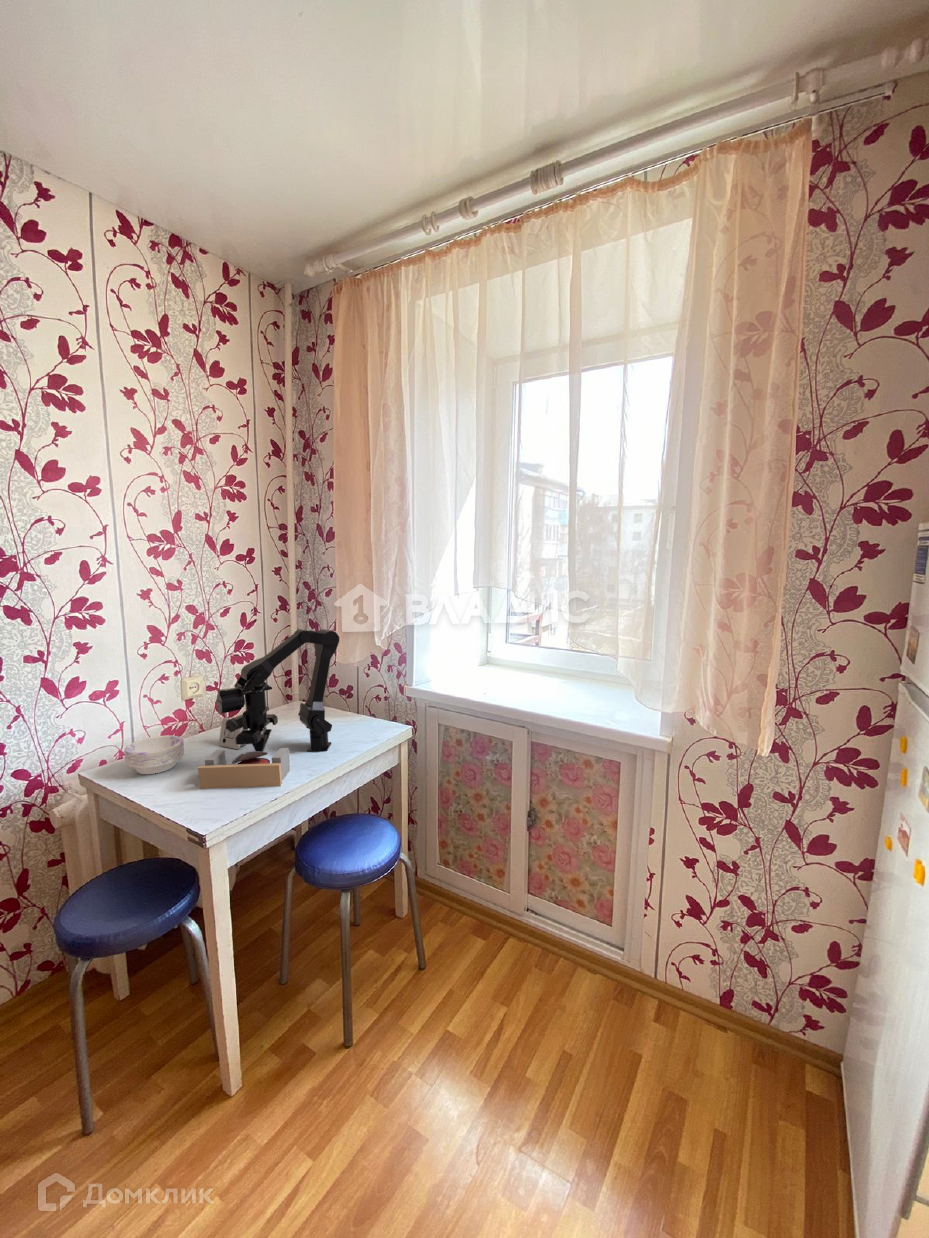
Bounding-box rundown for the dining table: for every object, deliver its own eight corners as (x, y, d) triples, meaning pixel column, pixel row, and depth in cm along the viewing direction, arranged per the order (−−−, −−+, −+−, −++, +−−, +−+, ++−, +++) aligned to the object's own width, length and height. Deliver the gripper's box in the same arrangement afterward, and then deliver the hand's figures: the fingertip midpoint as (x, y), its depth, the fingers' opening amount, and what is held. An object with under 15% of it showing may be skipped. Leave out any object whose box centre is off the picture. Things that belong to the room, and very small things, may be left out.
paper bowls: (197, 761, 154) (194, 737, 153) (151, 782, 140) (149, 755, 139) (161, 755, 160) (159, 731, 158) (114, 775, 145) (111, 749, 144)
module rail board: (216, 772, 146) (214, 750, 145) (291, 770, 146) (290, 747, 145) (199, 788, 136) (197, 764, 135) (280, 785, 136) (278, 761, 136)
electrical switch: (218, 746, 167) (218, 718, 166) (231, 742, 171) (231, 715, 171) (237, 750, 163) (237, 722, 162) (250, 746, 167) (250, 719, 167)
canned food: (236, 795, 141) (216, 767, 140) (255, 776, 151) (237, 749, 150) (266, 780, 139) (247, 751, 137) (284, 762, 148) (266, 734, 147)
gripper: (241, 698, 157) (245, 744, 159) (214, 717, 139) (219, 769, 141) (276, 696, 158) (280, 743, 160) (254, 715, 139) (258, 768, 141)
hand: (259, 755), depth 151 cm, fingers closed
